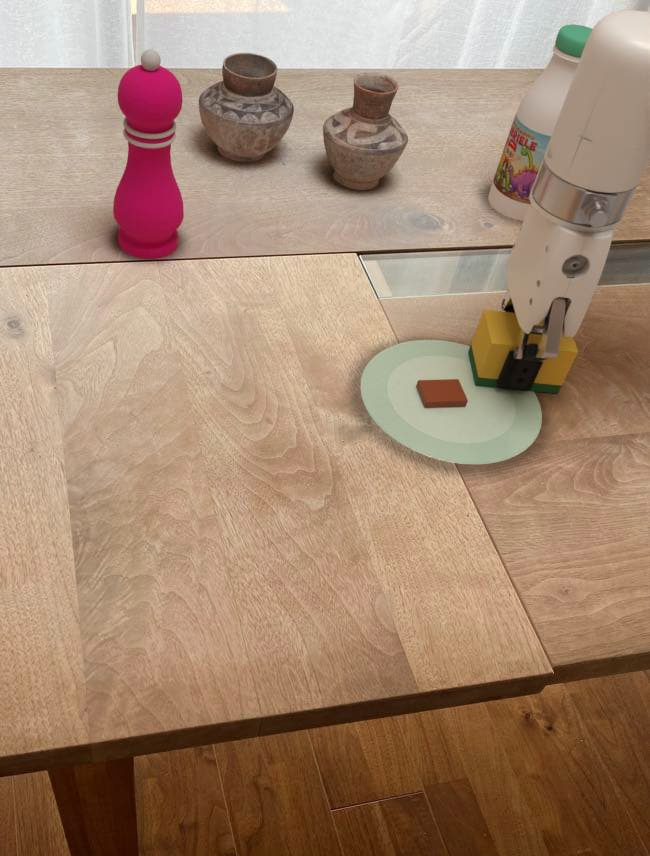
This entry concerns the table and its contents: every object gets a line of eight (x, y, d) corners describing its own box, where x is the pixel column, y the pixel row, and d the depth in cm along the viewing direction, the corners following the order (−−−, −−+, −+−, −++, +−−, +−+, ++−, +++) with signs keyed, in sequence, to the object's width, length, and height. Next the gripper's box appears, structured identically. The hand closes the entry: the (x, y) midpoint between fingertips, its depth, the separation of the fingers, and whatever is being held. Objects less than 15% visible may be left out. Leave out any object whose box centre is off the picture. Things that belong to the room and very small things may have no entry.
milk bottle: (519, 187, 111) (582, 12, 95) (562, 219, 107) (635, 42, 91) (472, 199, 108) (529, 21, 92) (515, 232, 104) (582, 52, 88)
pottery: (387, 216, 103) (411, 113, 94) (183, 166, 106) (188, 61, 97) (403, 170, 110) (427, 71, 101) (211, 125, 113) (218, 24, 104)
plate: (521, 357, 89) (525, 347, 88) (553, 481, 78) (558, 472, 77) (353, 341, 88) (355, 331, 87) (362, 464, 77) (365, 455, 76)
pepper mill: (196, 251, 95) (208, 55, 80) (145, 276, 91) (147, 75, 76) (150, 221, 98) (154, 26, 82) (99, 244, 94) (93, 44, 79)
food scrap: (456, 385, 83) (458, 378, 83) (465, 407, 81) (468, 400, 81) (415, 386, 83) (417, 379, 82) (424, 408, 81) (426, 401, 80)
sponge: (547, 360, 87) (567, 318, 83) (557, 394, 84) (578, 352, 80) (467, 351, 87) (483, 309, 83) (475, 385, 83) (491, 343, 80)
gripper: (656, 256, 66) (563, 433, 80) (603, 143, 76) (530, 317, 90) (557, 245, 65) (481, 426, 79) (517, 133, 76) (457, 309, 90)
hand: (508, 366), depth 85 cm, fingers closed on sponge, 5 cm apart
